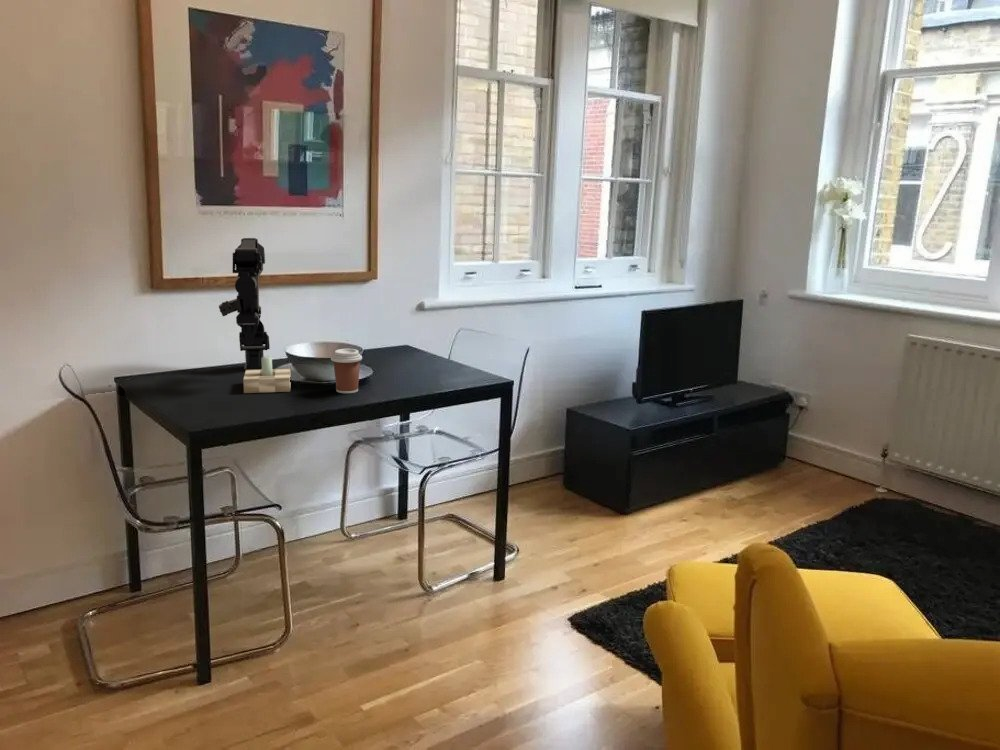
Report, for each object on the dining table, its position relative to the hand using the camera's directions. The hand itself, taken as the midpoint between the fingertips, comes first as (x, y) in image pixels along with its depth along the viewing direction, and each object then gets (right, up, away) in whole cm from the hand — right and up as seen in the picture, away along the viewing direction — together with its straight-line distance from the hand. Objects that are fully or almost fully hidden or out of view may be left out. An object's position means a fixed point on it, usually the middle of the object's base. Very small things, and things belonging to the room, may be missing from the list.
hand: (250, 341), depth 255 cm
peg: (+7, -14, -4) cm, 16 cm away
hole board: (+7, -14, -4) cm, 16 cm away
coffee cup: (+31, -15, -6) cm, 34 cm away
